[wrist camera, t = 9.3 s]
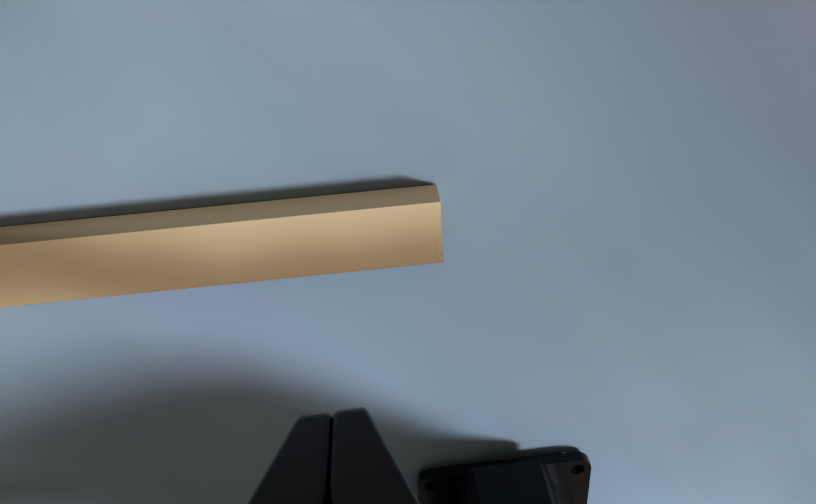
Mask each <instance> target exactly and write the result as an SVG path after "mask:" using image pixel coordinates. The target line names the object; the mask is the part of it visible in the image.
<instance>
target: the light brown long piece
mask: <svg viewBox="0 0 816 504" xmlns="http://www.w3.org/2000/svg"><path fill="white" fill-rule="evenodd" d="M440 262H443V250H442V226H441V203H440V198H439V194H438V190H437V186H436V185H426V186H415V187H405V188H395V189H385V190H374V191H364V192H354V193H344V194H333V195H323V196H313V197H303V198H292V199H282V200H272V201H262V202H251V203H241V204H231V205H220V206H210V207H200V208H190V209H179V210H169V211H159V212H149V213H138V214H128V215H118V216H108V217H97V218H87V219H77V220H67V221H56V222H46V223H36V224H26V225H15V226H5V227H0V307H8V306H18V305H28V304H38V303H47V302H57V301H67V300H77V299H87V298H97V297H106V296H116V295H126V294H136V293H146V292H155V291H165V290H175V289H185V288H195V287H205V286H214V285H224V284H234V283H244V282H254V281H264V280H273V279H283V278H293V277H303V276H313V275H323V274H332V273H342V272H352V271H362V270H372V269H382V268H391V267H401V266H411V265H421V264H431V263H440Z"/></svg>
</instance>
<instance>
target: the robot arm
mask: <svg viewBox="0 0 816 504" xmlns="http://www.w3.org/2000/svg"><path fill="white" fill-rule="evenodd" d="M590 473H591V465H590V462H589V460H588V457H587V456H586V454H584V453H581V452H572V453H564V454H555V455H546V456H537V457H528V458H519V459H510V460H502V461H493V462H484V463H475V464H466V465H457V466H448V467H440V468H431V469H426V470H423V471H422V472H420V473H419V474H418V476H417V488H418V500H419V501H418V500H417V498H416V496H415V494H414V492H413V491H412V489H411V487H410V485H409V484H408V482H407V480H406V478H405V476H404V475H403V473H402V471H401V469H400V468H399V466H398V464H397V462H396V460H395V459H394V457H393V455H392V453H391V452H390V450H389V448H388V446H387V444H386V443H385V441H384V439H383V437H382V436H381V434H380V432H379V430H378V428H377V427H376V425H375V423H374V421H373V419H372V418H371V416H370V414H369V412H368V411H367V410H366V409H365V408H363V407H360V408H352V409H344V410H338V411H336V412H335V413H334V415H332V414H331V413H329V412H321V413H314V414H306V415H302V416H300V417H299V418H298V419H297V420H296V422H295V423H294V425H293V427H292V429H291V430H290V432H289V434H288V435H287V437H286V439H285V441H284V442H283V444H282V446H281V447H280V449H279V451H278V452H277V454H276V456H275V458H274V459H273V461H272V463H271V464H270V466H269V468H268V470H267V471H266V473H265V475H264V476H263V478H262V480H261V482H260V483H259V485H258V487H257V488H256V490H255V492H254V494H253V495H252V497H251V499H250V500H249V502H248V504H587V498H588V490H589V481H590Z"/></svg>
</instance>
